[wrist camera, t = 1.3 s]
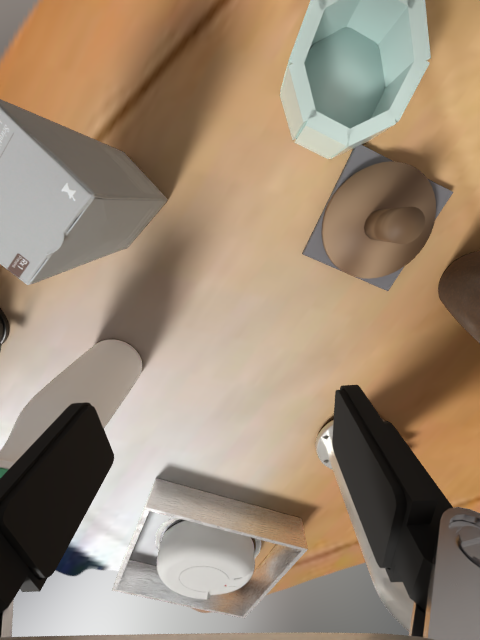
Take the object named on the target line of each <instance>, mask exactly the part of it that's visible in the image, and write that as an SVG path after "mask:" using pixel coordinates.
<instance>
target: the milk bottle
mask: <svg viewBox="0 0 480 640" xmlns="http://www.w3.org/2000/svg"><path fill="white" fill-rule="evenodd" d="M141 372H142V360H141V357H140V355H139V354H138V352H137V351H136V350H135V349H134V348H133V347H132V346H131V345H129V344H127V343H126V342H123V341H120V340H115V339H113V340H111V339H109V340H104V341H101V342H98V343H97V344H95V345H94V346H93V347H92V348H90V349H89V350H88V351H87V352H85V353H84V354H83V355H82V356H81V357H79V358H78V359H77V360H76V361H75V362H73V363H72V364H71V365H70V366H69V367H67V368H66V369H65V370H64V371H63V372H61V373H60V374H59V375H58V376H57V377H56V378H54V379H53V380H52V381H51V382H50V383H49V384H47V385H46V386H45V387H44V388H43V389H42V390H41V391H40V392H39V393H37V394H36V395H35V396H34V397H33V398H32V399H31V400H30V402H29V403H28V404H27V405H26V406H25V408H24V409H23V410H22V412H21V413H20V415H19V416H18V418H17V420H16V422H15V424H14V427H13V429H12V431H11V434H10V436H9V438H8V440H7V442H6V443H5V445H4V446H3V448H2V450H1V451H0V478H1V477H2V476H3V475H4V474H5V473H6V472H7V471H8V470H9V469H10V468H11V466H12V465H13V464H14V463H15V462H16V461H17V460H18V459H19V458H20V457H21V456H22V455H23V454H24V453H25V452H26V451H27V450H28V448H29V447H30V446H31V445H32V444H33V443H34V442H35V441H36V440H37V439H38V438H39V437H40V436H41V435H42V434H43V433H44V432H45V430H46V429H47V428H48V427H49V426H50V425H51V424H52V423H53V422H54V421H55V420H56V419H57V418H58V417H59V416H60V415H61V414H62V412H63V411H64V410H65V409H66V408H67V407H68V406H69V405H71V404H73V403H84V402H88V403H90V404H91V405H92V406H94V407H95V409H96V411H97V414H98V416H99V419H100V421H101V424H102V426H103V429H104V428H105V426H106V425H107V423H108V422H109V421H110V419H111V418H112V416H113V415H114V413H115V412H116V410H117V409H118V408H119V406H120V405H121V403H122V402H123V400H124V399H125V397H126V396H127V394H128V393H129V391H130V390H131V388H132V387H133V385H134V384H135V382H136V381H137V379H138V378H139V376H140V374H141Z"/></svg>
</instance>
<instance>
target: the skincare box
mask: <svg viewBox="0 0 480 640" xmlns="http://www.w3.org/2000/svg"><path fill="white" fill-rule="evenodd" d="M166 202H167V198H166V197H165V196H164V195H163V194H162V193H161V192H160V190H159V189H158V188H157V187H156V186H155V185H154V184H153V183H152V182H151V181H150V180H149V179H148V178H147V177H146V175H145V174H144V173H143V172H142V171H141V170H140V169H139V168H138V167H137V166H136V165H135V164H134V163H133V161H132V160H131V159H130V158H129V157H128V156H127V155H126V154H125V153H124V152H122V151H120V150H118V149H116V148H113V147H111V146H109V145H106V144H104V143H101V142H99V141H97V140H95V139H92V138H90V137H88V136H85V135H83V134H81V133H78V132H76V131H74V130H71V129H69V128H66V127H64V126H62V125H60V124H57V123H55V122H52V121H50V120H48V119H45V118H43V117H41V116H38V115H36V114H34V113H31V112H29V111H27V110H24V109H22V108H20V107H17V106H15V105H13V104H10V103H8V102H5V101H3V100H1V99H0V264H1V265H2V266H3V267H5V268H6V269H7V270H9V271H10V272H11V273H13V274H14V275H15V276H16V277H18V278H19V279H20V280H21V281H23V282H24V283H25V284H27V285H30V284H33V283H36V282H39V281H41V280H44V279H46V278H49V277H52V276H54V275H57V274H59V273H62V272H65V271H67V270H70V269H73V268H75V267H78V266H80V265H83V264H85V263H88V262H91V261H93V260H96V259H99V258H102V257H104V256H107V255H110V254H112V253H115V252H117V251H120V250H123V249H126V248H128V247H129V246H130V244H131V243H132V242H133V241H134V240H135V239H136V237H137V236H138V235H139V234H140V233H141V232H142V230H143V229H144V228H145V227H146V226H147V224H148V223H149V222H150V221H151V220H152V219H153V217H154V216H155V215H156V214H157V213H158V211H159V210H160V209H161V208H162V207H163V205H164V204H165V203H166Z"/></svg>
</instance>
